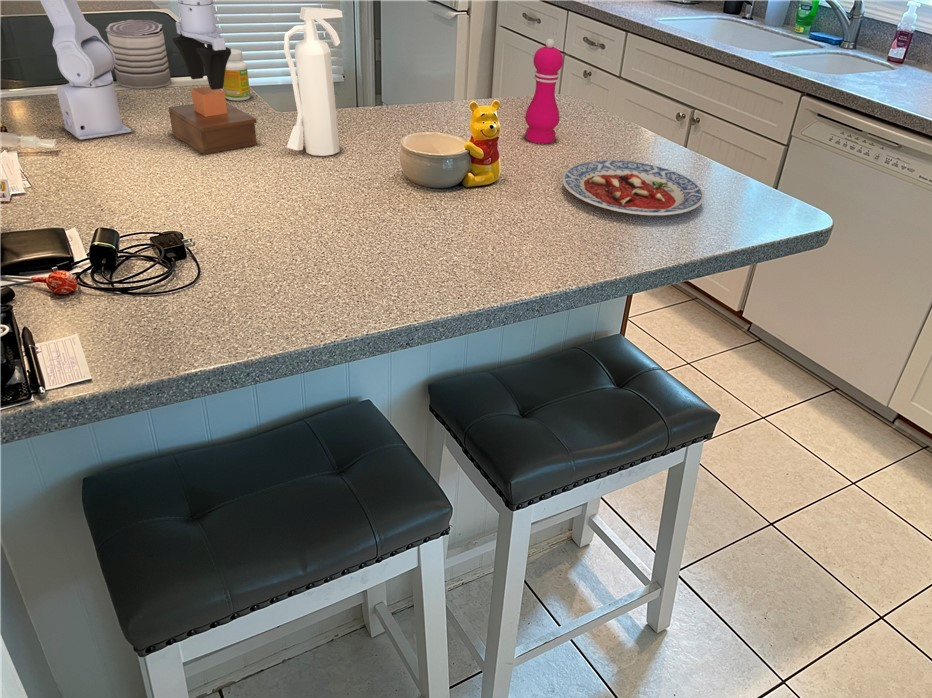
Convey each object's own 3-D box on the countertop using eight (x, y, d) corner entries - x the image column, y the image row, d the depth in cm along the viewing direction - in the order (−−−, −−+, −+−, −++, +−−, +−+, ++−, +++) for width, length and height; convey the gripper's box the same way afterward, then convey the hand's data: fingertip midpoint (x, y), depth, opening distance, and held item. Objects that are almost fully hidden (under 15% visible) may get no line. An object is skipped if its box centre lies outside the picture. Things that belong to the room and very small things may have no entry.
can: (182, 83, 176) (173, 26, 169) (138, 92, 168) (127, 33, 161) (149, 72, 181) (139, 17, 174) (105, 81, 173) (93, 23, 166)
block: (205, 117, 142) (202, 94, 140) (194, 110, 145) (190, 88, 142) (227, 113, 145) (224, 91, 143) (216, 107, 147) (213, 85, 145)
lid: (256, 122, 144) (256, 118, 144) (202, 131, 138) (202, 127, 138) (221, 103, 152) (221, 99, 151) (168, 111, 146) (168, 107, 145)
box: (257, 144, 147) (254, 121, 145) (204, 154, 141) (200, 130, 139) (224, 126, 154) (221, 104, 152) (173, 135, 148) (169, 111, 146)
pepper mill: (554, 146, 161) (565, 44, 150) (520, 141, 162) (529, 39, 150) (559, 136, 167) (571, 37, 155) (526, 131, 168) (535, 32, 156)
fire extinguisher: (280, 148, 147) (266, 4, 132) (340, 142, 152) (333, 3, 138) (292, 160, 142) (279, 12, 128) (353, 153, 148) (348, 10, 134)
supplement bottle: (246, 102, 169) (240, 55, 163) (221, 99, 168) (215, 52, 163) (253, 95, 173) (248, 49, 167) (229, 93, 173) (223, 47, 167)
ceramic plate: (589, 228, 128) (591, 211, 126) (543, 172, 148) (544, 156, 146) (727, 223, 135) (731, 206, 133) (665, 170, 155) (668, 155, 153)
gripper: (237, 8, 132) (246, 90, 140) (198, -7, 140) (208, 71, 148) (198, 11, 128) (210, 95, 136) (159, -5, 136) (172, 75, 144)
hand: (207, 83), depth 142 cm, fingers open, 7 cm apart
